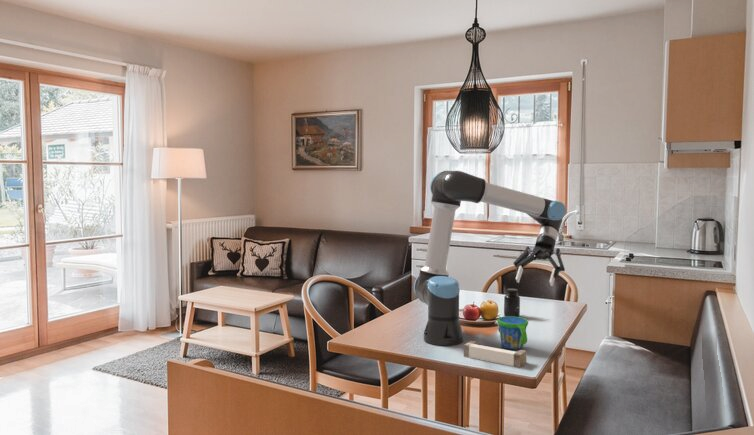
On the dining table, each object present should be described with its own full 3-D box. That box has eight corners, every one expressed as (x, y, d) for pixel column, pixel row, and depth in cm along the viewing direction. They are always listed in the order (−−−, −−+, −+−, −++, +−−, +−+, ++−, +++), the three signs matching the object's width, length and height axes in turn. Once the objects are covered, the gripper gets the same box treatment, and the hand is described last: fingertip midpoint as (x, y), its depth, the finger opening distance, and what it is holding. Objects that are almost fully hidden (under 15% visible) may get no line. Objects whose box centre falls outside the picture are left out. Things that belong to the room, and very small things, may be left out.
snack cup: (536, 353, 193) (536, 324, 192) (508, 355, 191) (508, 326, 190) (516, 340, 208) (516, 313, 207) (490, 341, 206) (490, 315, 205)
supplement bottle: (520, 318, 239) (520, 291, 238) (504, 317, 241) (504, 290, 240) (519, 314, 246) (519, 288, 245) (503, 313, 247) (503, 287, 246)
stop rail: (463, 356, 190) (463, 344, 189) (471, 351, 195) (471, 340, 194) (519, 367, 178) (519, 355, 178) (526, 362, 183) (526, 350, 183)
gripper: (579, 247, 221) (568, 291, 210) (519, 244, 236) (506, 284, 225) (575, 235, 217) (563, 279, 206) (514, 233, 231) (500, 274, 220)
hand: (533, 282), depth 215 cm, fingers open, 13 cm apart
